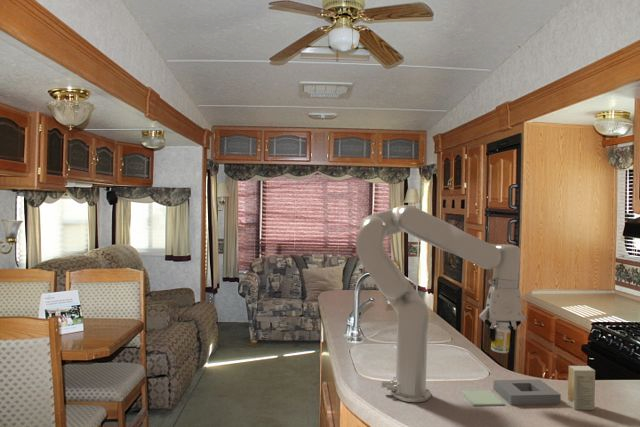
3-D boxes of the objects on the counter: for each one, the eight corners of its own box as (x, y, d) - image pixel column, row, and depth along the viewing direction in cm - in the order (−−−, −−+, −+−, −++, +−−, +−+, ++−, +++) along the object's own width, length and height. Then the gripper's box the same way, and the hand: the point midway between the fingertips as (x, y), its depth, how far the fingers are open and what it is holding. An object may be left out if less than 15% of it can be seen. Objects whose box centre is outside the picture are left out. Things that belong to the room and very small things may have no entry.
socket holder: (510, 405, 147) (511, 395, 147) (493, 389, 159) (493, 380, 159) (560, 403, 148) (560, 394, 148) (539, 388, 160) (539, 379, 160)
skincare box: (587, 404, 149) (589, 365, 148) (594, 410, 144) (596, 370, 144) (566, 403, 149) (568, 364, 148) (573, 409, 144) (574, 369, 144)
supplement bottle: (495, 353, 149) (498, 322, 148) (488, 347, 154) (490, 318, 154) (512, 353, 149) (514, 323, 149) (503, 348, 155) (506, 318, 154)
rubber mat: (473, 405, 146) (473, 404, 146) (460, 392, 156) (460, 390, 156) (504, 405, 147) (504, 403, 147) (490, 391, 157) (490, 390, 157)
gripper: (484, 285, 146) (479, 343, 147) (537, 287, 148) (532, 344, 149) (473, 280, 154) (469, 336, 154) (524, 282, 155) (520, 337, 156)
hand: (500, 339), depth 151 cm, fingers closed on supplement bottle, 5 cm apart
